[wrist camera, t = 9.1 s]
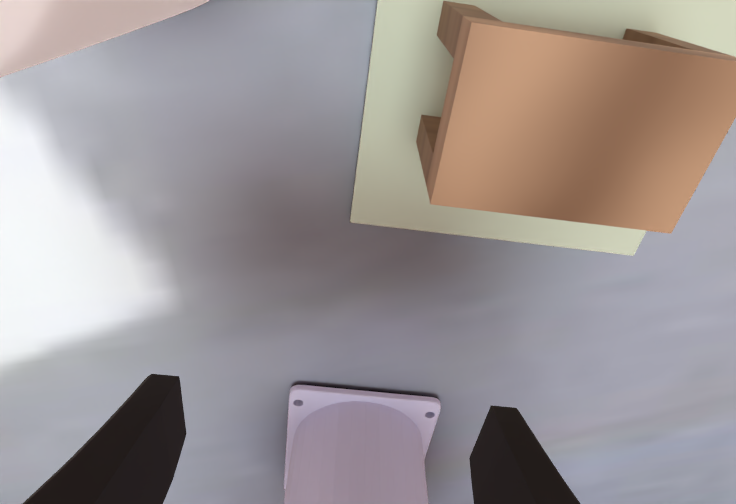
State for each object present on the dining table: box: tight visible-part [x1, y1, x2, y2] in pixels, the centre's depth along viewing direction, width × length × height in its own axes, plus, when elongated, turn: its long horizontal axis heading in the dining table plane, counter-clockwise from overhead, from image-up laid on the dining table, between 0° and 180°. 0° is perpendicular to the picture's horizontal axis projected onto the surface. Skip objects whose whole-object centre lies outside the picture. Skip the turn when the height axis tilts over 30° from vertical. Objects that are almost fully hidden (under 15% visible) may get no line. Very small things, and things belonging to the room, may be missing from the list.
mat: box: [350, 0, 736, 256], centre depth 16 cm, size 12×12×1 cm
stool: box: [416, 1, 736, 233], centre depth 14 cm, size 7×5×5 cm, turn 83°
